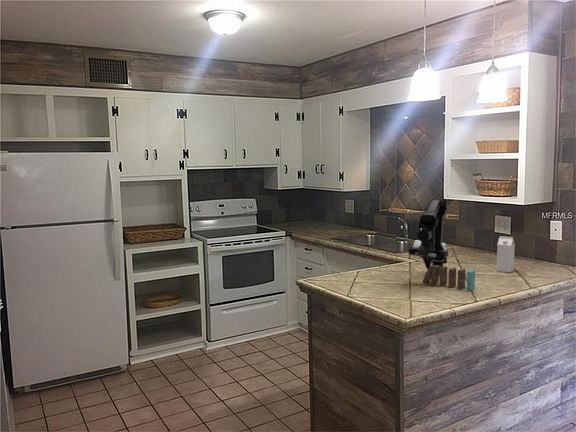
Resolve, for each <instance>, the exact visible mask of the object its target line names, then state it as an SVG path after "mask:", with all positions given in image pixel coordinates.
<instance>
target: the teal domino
mask: <svg viewBox="0 0 576 432" xmlns="http://www.w3.org/2000/svg"><path fill="white" fill-rule="evenodd" d="M475 286H476V270H475V269H470V270H468V271H467V272H466V291H468V292H469V291H470V292H471V291H473V290H474V289H475V288H476V287H475Z"/></svg>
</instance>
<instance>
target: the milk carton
mask: <svg viewBox="0 0 576 432" xmlns="http://www.w3.org/2000/svg"><path fill="white" fill-rule="evenodd" d="M515 245H516V244H515V240H514V236H505V235H499V237H498V242H497V245H496V246H497V247H496V248H497V249H496V272H503V273H512V272H513V271H514V269H515V250H516V249H515Z"/></svg>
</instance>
